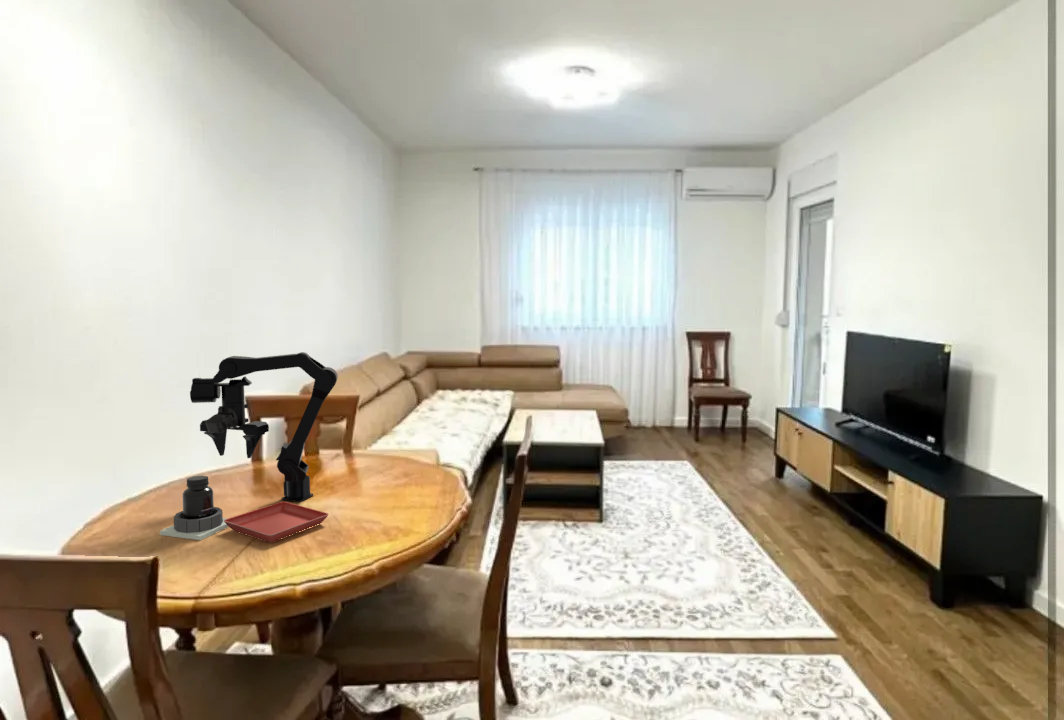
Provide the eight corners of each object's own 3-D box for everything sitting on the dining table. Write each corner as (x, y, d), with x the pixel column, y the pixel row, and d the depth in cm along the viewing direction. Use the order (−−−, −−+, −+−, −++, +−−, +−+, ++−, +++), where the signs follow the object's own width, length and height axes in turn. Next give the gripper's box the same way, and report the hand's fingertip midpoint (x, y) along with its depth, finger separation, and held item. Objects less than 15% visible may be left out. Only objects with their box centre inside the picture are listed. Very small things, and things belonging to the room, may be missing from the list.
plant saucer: (330, 525, 166) (330, 512, 166) (270, 548, 151) (269, 534, 150) (283, 512, 175) (283, 500, 175) (222, 533, 160) (221, 520, 160)
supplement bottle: (209, 529, 159) (206, 481, 158) (179, 530, 158) (176, 482, 157) (218, 519, 166) (216, 473, 164) (189, 520, 165) (187, 474, 164)
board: (236, 523, 166) (236, 519, 166) (200, 540, 154) (200, 536, 154) (197, 518, 169) (197, 514, 169) (159, 534, 158) (159, 530, 158)
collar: (231, 520, 165) (231, 508, 165) (200, 534, 155) (199, 522, 155) (197, 516, 168) (197, 504, 168) (164, 530, 158) (164, 518, 158)
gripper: (183, 404, 175) (185, 461, 177) (240, 408, 170) (243, 466, 171) (213, 398, 186) (216, 451, 187) (269, 401, 181) (271, 456, 182)
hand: (235, 456), depth 182 cm, fingers open, 9 cm apart
